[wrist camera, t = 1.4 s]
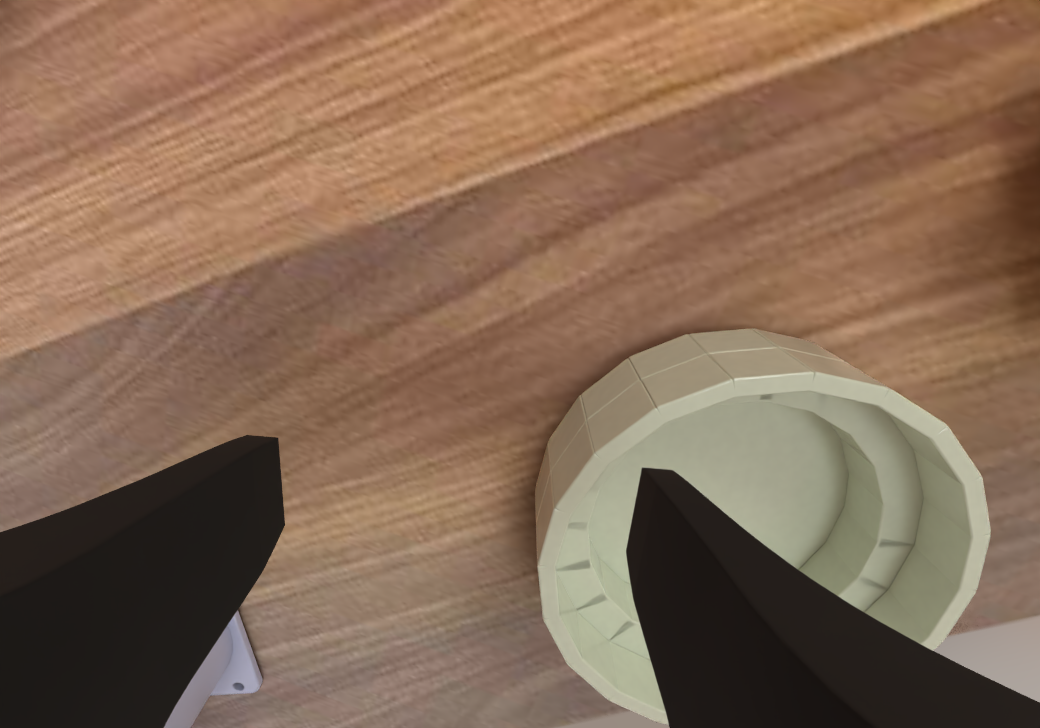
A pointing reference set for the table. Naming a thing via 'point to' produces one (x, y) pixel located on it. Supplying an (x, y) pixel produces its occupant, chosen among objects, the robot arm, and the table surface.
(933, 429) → the bowl
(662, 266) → the table surface
